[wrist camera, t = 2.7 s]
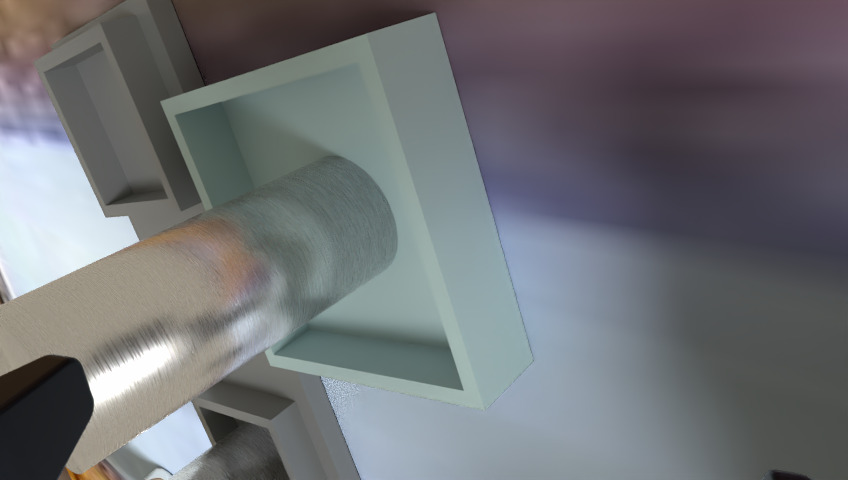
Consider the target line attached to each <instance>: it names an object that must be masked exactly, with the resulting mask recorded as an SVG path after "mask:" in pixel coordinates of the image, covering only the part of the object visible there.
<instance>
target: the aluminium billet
mask: <svg viewBox="0 0 848 480" xmlns="http://www.w3.org/2000/svg"><path fill="white" fill-rule="evenodd" d="M397 246H398V234H397V227H396V222H395V218H394V215H393V212H392V210H391V207H390V205H389V203H388V201H387V199H386V197H385V195H384V193H383V192H382V190H381V189H380V187H379V186H378V185H377V183H376V182H375V181H374V180H373V179H372V177H371V176H370V175H369V174H368V173H367V172H366V171H364V170H363V169H362V168H361V167H359V166H358V165H357V164H355V163H353V162H352V161H350V160H347V159H345V158H342V157H338V156H326V157H322V158H320V159H318V160H316V161H313V162H311V163H309V164H307V165H305V166H303V167H300V168H298V169H296V170H294V171H292V172H289V173H287V174H285V175H283V176H281V177H279V178H276V179H274V180H272V181H270V182H268V183H266V184H263V185H261V186H259V187H257V188H255V189H252V190H250V191H248V192H246V193H244V194H242V195H239V196H237V197H235V198H233V199H231V200H229V201H226V202H224V203H222V204H220V205H218V206H216V207H213V208H211V209H209V210H207V211H205V212H202V213H200V214H198V215H196V216H194V217H192V218H189V219H187V220H185V221H183V222H181V223H179V224H176V225H174V226H172V227H170V228H168V229H165V230H163V231H161V232H159V233H157V234H155V235H152V236H150V237H148V238H146V239H144V240H142V241H139V242H137V243H135V244H133V245H131V246H128V247H126V248H124V249H122V250H120V251H118V252H115V253H113V254H111V255H109V256H107V257H105V258H102V259H100V260H98V261H96V262H94V263H92V264H89V265H87V266H85V267H83V268H81V269H78V270H76V271H74V272H72V273H70V274H68V275H65V276H63V277H61V278H59V279H57V280H55V281H52V282H50V283H48V284H46V285H44V286H41V287H39V288H37V289H35V290H33V291H31V292H28V293H26V294H24V295H22V296H20V297H18V298H15V299H13V300H11V301H9V302H7V303H4V304H2V305H0V376H2V375H4V374H6V373H8V372H10V371H12V370H15V369H17V368H19V367H21V366H23V365H25V364H27V363H30V362H32V361H34V360H36V359H38V358H40V357H43V356H45V355H49V354H55V355H62V356H68V357H74V358H76V359H78V360H79V361H80V362H81V364H82V366H83V369H84V372H85V375H86V377H87V380H88V383H89V386H90V389H91V392H92V395H93V398H94V410H93V414H92V417H91V419H90V421H89V423H88V425H87V427H86V428H85V430H84V432H83V434H82V436H81V438H80V440H79V441H78V443H77V445H76V447H75V449H74V451H73V453H72V454H71V456H70V458H69V460H68V462H67V464H66V467H67V468H68V469H70V470H71V471H72V472H74V473H77V474H82V473H84V472H85V471H87V470H88V469H90V468H91V467H93V466H94V465H96V464H97V463H99V462H100V461H102V460H103V459H105V458H106V457H108V456H109V455H111V454H112V453H114V452H115V451H116V450H118V449H119V448H121V447H122V446H124V445H125V444H127V443H128V442H130V441H131V440H133V439H134V438H136V437H137V436H139V435H140V434H142V433H143V432H145V431H146V430H148V429H149V428H151V427H152V426H154V425H155V424H157V423H158V422H160V421H161V420H163V419H164V418H166V417H167V416H169V415H170V414H172V413H173V412H175V411H176V410H178V409H179V408H181V407H182V406H184V405H185V404H187V403H188V402H190V401H191V400H193V399H194V398H195V397H197V396H198V395H200V394H201V393H203V392H204V391H206V390H207V389H209V388H210V387H212V386H213V385H215V384H216V383H218V382H219V381H221V380H222V379H224V378H225V377H227V376H228V375H230V374H231V373H233V372H234V371H236V370H237V369H239V368H240V367H242V366H243V365H245V364H246V363H248V362H249V361H251V360H252V359H254V358H255V357H257V356H258V355H260V354H261V353H263V352H264V351H266V350H267V349H269V348H270V347H271V346H273V345H274V344H276V343H277V342H279V341H280V340H282V339H283V338H285V337H286V336H288V335H289V334H291V333H292V332H294V331H295V330H297V329H298V328H300V327H301V326H303V325H304V324H306V323H307V322H309V321H310V320H312V319H313V318H315V317H316V316H318V315H319V314H321V313H322V312H324V311H325V310H327V309H328V308H330V307H331V306H333V305H334V304H336V303H337V302H339V301H340V300H342V299H343V298H345V297H346V296H348V295H349V294H350V293H352V292H353V291H355V290H356V289H358V288H359V287H361V286H362V285H364V284H365V283H367V282H368V281H370V280H371V279H373V278H374V277H376V276H377V275H379V274H380V273H382V272H383V271H385V270H386V269H387V268H388V267H389V266H390V265H391V264H392V262H393V260H394V258H395V255H396V252H397Z"/></svg>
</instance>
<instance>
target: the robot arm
mask: <svg viewBox="0 0 848 480" xmlns="http://www.w3.org/2000/svg"><path fill="white" fill-rule="evenodd" d="M93 410H94V398H93V395H92V392H91V389H90V386H89V383H88V380H87V377H86V375H85V372H84V369H83V366H82V364H81V362H80V361H79V360H78V359H76V358H74V357H68V356H62V355H55V354H49V355H45V356H43V357H40V358H38V359H36V360H34V361H32V362H30V363H27V364H25V365H23V366H21V367H19V368H17V369H15V370H12V371H10V372H8V373H6V374H4V375H2V376H0V480H58V478H59V477H60V475H61V473H62V471H63V469H64V467H65V466H66V464H67V462H68V460H69V458H70V456H71V454H72V453H73V451H74V449H75V447H76V445H77V443H78V441H79V440H80V438H81V436H82V434H83V432H84V430H85V428H86V427H87V425H88V423H89V421H90V419H91V417H92V414H93ZM763 480H811V479H810V478H809V477H807V476H805V475H803V474H798V473H792V472H786V471H780V470H770V471H768V472H767V473H766V474H765V476H764V477H763Z"/></svg>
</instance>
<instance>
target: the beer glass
mask: <svg viewBox="0 0 848 480" xmlns="http://www.w3.org/2000/svg"><path fill="white" fill-rule="evenodd" d="M171 476H172V475H171V474H170V473H169V472H167V471H166V470H164V469H162V468H156V469H154V470H153V471H152V472H151V473H150V474H148V475H147V476H146V477H145V478H144V479H143V480H167V479H169V478H170V477H171Z"/></svg>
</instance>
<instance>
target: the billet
mask: <svg viewBox="0 0 848 480" xmlns="http://www.w3.org/2000/svg"><path fill="white" fill-rule="evenodd" d="M167 480H290V478H289V476H288V474H287V471H286V469H285V467H284V464H283V462H282V460H281V458H280V455H279V453H278V451H277V448H276V446H275V444H274V441H273V439H272V437H271V434H270V432H269V430H268V429H267V428H264V427H261V426H258V425H255V424H252V423H249V422H244V423H243V424H242V425H240V426H239V427H238V428H236V429H235V430H234V431H232V432H231V433H229V434H228V435H227V436H225V437H224V438H223V439H221V440H220V441H219V442H217V443H216V444H215V445H213V446H212V447H211V448H209V449H208V450H206V451H205V452H204V453H202V454H201V455H200V456H198V457H197V458H196V459H194V460H193V461H192V462H190V463H189V464H188V465H186V466H185V467H184V468H182V469H181V470H179V471H178V472H177V473H175V474H174V475H173V476H171V477H170V478H169V479H167Z"/></svg>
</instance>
